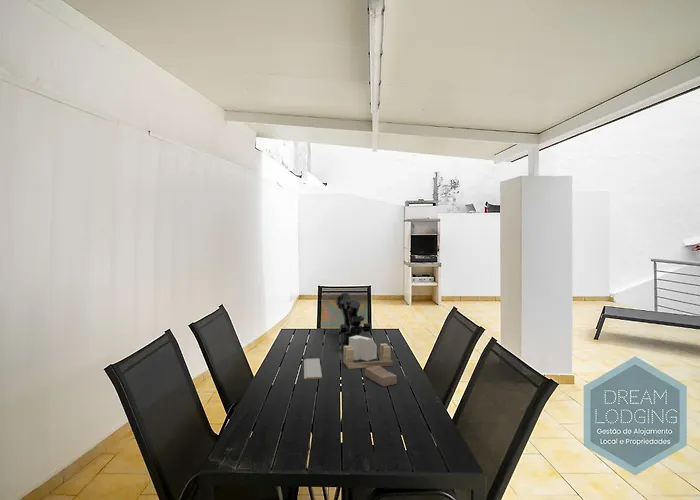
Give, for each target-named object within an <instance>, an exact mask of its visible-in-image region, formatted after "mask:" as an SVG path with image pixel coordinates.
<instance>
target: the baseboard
mask: <svg viewBox="0 0 700 500" xmlns="http://www.w3.org/2000/svg"><path fill="white" fill-rule="evenodd" d="M304 358H305V359H304ZM303 379H304V380H322V379H323V375H322V367H321V361H320V357H314V358H313V355H311V356H310V355H309V358H306V357H305V356H304V357H303Z"/></svg>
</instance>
